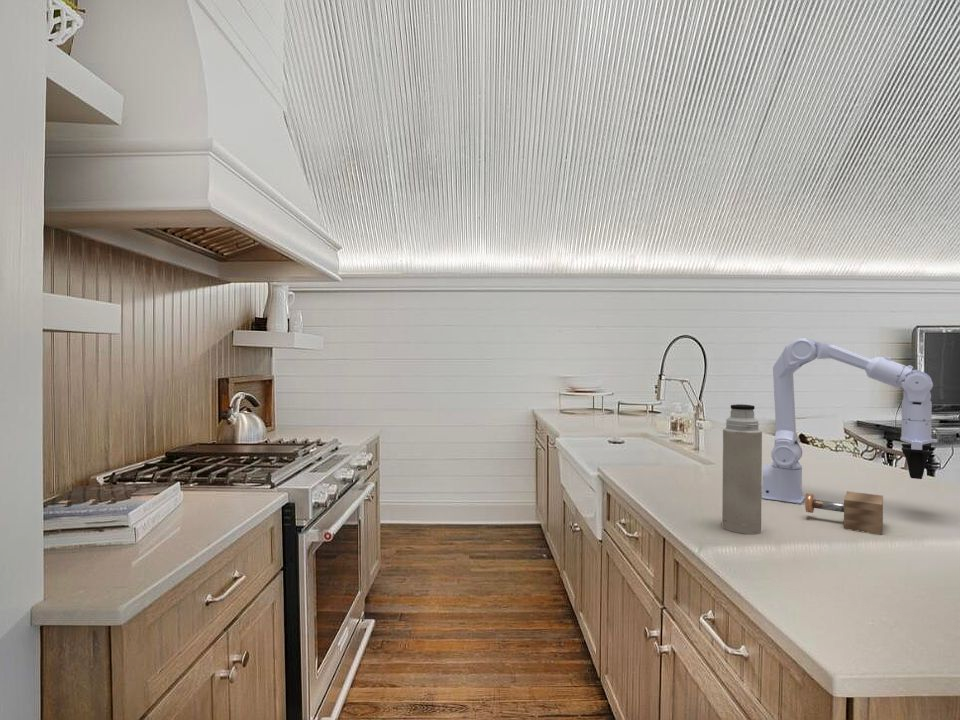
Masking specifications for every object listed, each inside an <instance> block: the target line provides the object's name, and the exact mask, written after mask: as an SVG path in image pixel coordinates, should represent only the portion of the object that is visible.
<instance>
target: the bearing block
mask: <svg viewBox="0 0 960 720" xmlns="http://www.w3.org/2000/svg"><path fill="white" fill-rule="evenodd" d="M843 504H844V512H843V529H844V528H845V529H844V530H848V529H852V530H851V531H855V530H859V531H858V532H861V531H864V532H863V533H867V532H869V533H868V534H874V535H875V534H876V535H883V529H882V528H884V527H883V526H884V495H881V494H880V495H879V494H872V493H871V494H870V493H863V492H855V491H848V490H847V491H846V493H845V496H844V498H843Z"/></svg>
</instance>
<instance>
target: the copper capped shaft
mask: <svg viewBox="0 0 960 720" xmlns="http://www.w3.org/2000/svg"><path fill="white" fill-rule="evenodd" d="M804 501H805V503H804V505H805V508H804V509H805V513H810V514H813V513H814V512H815V509H818V510H819V509H820V510H824V511H832V512H840V513H844V502H843V503H841V502H834V501H827V500H820V499H815V494H814V493H806V494H805V499H804Z"/></svg>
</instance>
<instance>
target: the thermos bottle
mask: <svg viewBox="0 0 960 720" xmlns="http://www.w3.org/2000/svg"><path fill="white" fill-rule="evenodd" d="M755 409H756V408H755V405H751V404H738V403H737V404H731V405H730V416H729V417H728V418H726V420H725V421H726V422H725V426H726V427H723V429H722V502H721V503H722V507H721V508H722V511H721V513H722V516H721V517H722V519H721V520H722V521H721V522H722V523H721V524H722V528H723V529H725V530H727V531H729V532H732V533H736V534H737V533H738V534H743V535H745V534H746V535H755V534H759V533H761V532H762V499H763V498H762V476H763V468H762V466H763V462H762V461H763V458H762V457H763V455H762V454H763V449H762V448H763V431H762V429H761V430H760V429H759V425H760V423H759V420H758V419H757V418H756V417H755V411H754V410H755Z"/></svg>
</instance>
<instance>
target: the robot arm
mask: <svg viewBox="0 0 960 720" xmlns="http://www.w3.org/2000/svg"><path fill="white" fill-rule="evenodd" d="M816 359H817V360H821V359H823V360H824V359H832V360H835V361H838V362H840V363H844V364H847V365H850V366H852V367H855V368H858V369H860V370H864V371H865V373H866V375H867V377H868V378H869V379H872V380H874V381H875V380H876V381H877V382H881V383H883V384H886V385H888V386H891V387H893V388H900V387H901V388H902V389H903V393H902V394H903V395H902V396H903V399H902V400H901V434H900V435H901V436H900V438H899V439H900V441H902V442H905V443H901V446H902V447H901V452H902V453H903V455H904V457H905V460H906V463H907V468H908V474H909V477H910V479H915V480H922V479H923V477H924V474H925V473H924V472H925V470H926V469H925V468H926V464H927V461H928V459H929V457H930V456H931V455H932V452H933V451H932V450H930V448H931V444H933V443H936V444H937V443H938V441H939V440H938V438H932V416H933V415H932V414H933V413H932V411H933V410H932V406H933V405H932V404H933V403H932V401H931V399H932V393H931V391H932V389H933V388H934V387H933V386H934V383H933V380H932V378H931V376H930V375H929V374H928V373H926V372H925V371H922V370H921V369H914V366H912V365H905V364H902V363H898V362H896V361H893V360H892V358H891V357H889V356H885V357H882V356H877V357H874V358H873V357H872V358H868V357H865V356H863V355H861V354H859V353H855V352H854V351H851V350H848V349H846V348H843V347H840V346H837V345H836V344H832V343H827V342H821V341H817V340H813V339H809V338H804V337H799V338H796V339H794V340H792V341H791V342H790V343H788V344H787V345H786V346H784V348H783V351H782V353H781V354H780V356H778V358H777V360H776V361H775V363H774V365H773V367H772V373H773V374H772V375H773V376H772V377H773V378H772V379H773V397H774V398H773V399H774V414H775V416H774V417H775V435H774V446H773V447H772V450H771V453H770V454H771V455H770V456H771V459H772V461H773V462H772V463H771V464H764V465H763V468H762V498H761V499H765V500H772V501H778V502H785V503H792V504H799V505H800V504H803V502H804V501H805V500H806V495H805V496H804V495H803V494H802V493H803V465H802V464H801V463H800V461H799V460H801V458H802V456H803V448H802V447H801V445H800V443H799V438H798V433H797V427H796V422H797V421H796V407H795V404H796V403H795V389H794V388H795V387H794V374H795V372H796V371H798V370H799V369H800V368H801V367H802V366H803V365H806V364H807V363H810V362H812V361H814V360H816Z"/></svg>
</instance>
